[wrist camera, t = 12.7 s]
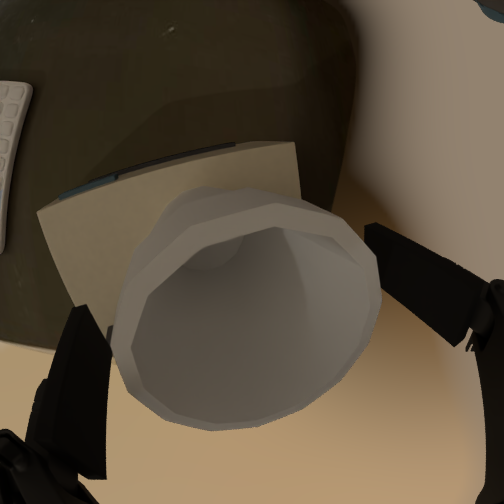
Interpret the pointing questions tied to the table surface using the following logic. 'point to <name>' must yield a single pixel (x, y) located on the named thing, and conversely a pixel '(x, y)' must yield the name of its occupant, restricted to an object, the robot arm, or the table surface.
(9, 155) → the calculator
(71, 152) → the table surface
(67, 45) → the table surface
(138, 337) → the foam cup
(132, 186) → the printer
